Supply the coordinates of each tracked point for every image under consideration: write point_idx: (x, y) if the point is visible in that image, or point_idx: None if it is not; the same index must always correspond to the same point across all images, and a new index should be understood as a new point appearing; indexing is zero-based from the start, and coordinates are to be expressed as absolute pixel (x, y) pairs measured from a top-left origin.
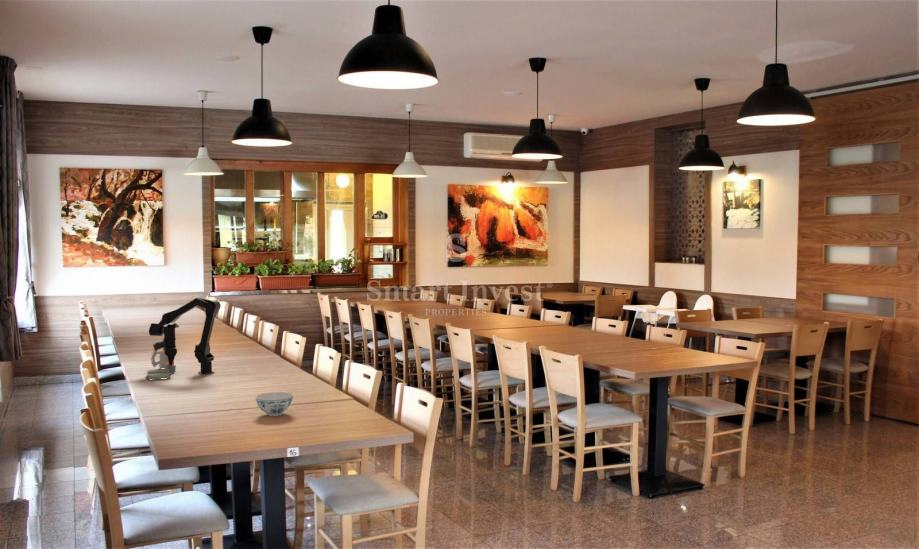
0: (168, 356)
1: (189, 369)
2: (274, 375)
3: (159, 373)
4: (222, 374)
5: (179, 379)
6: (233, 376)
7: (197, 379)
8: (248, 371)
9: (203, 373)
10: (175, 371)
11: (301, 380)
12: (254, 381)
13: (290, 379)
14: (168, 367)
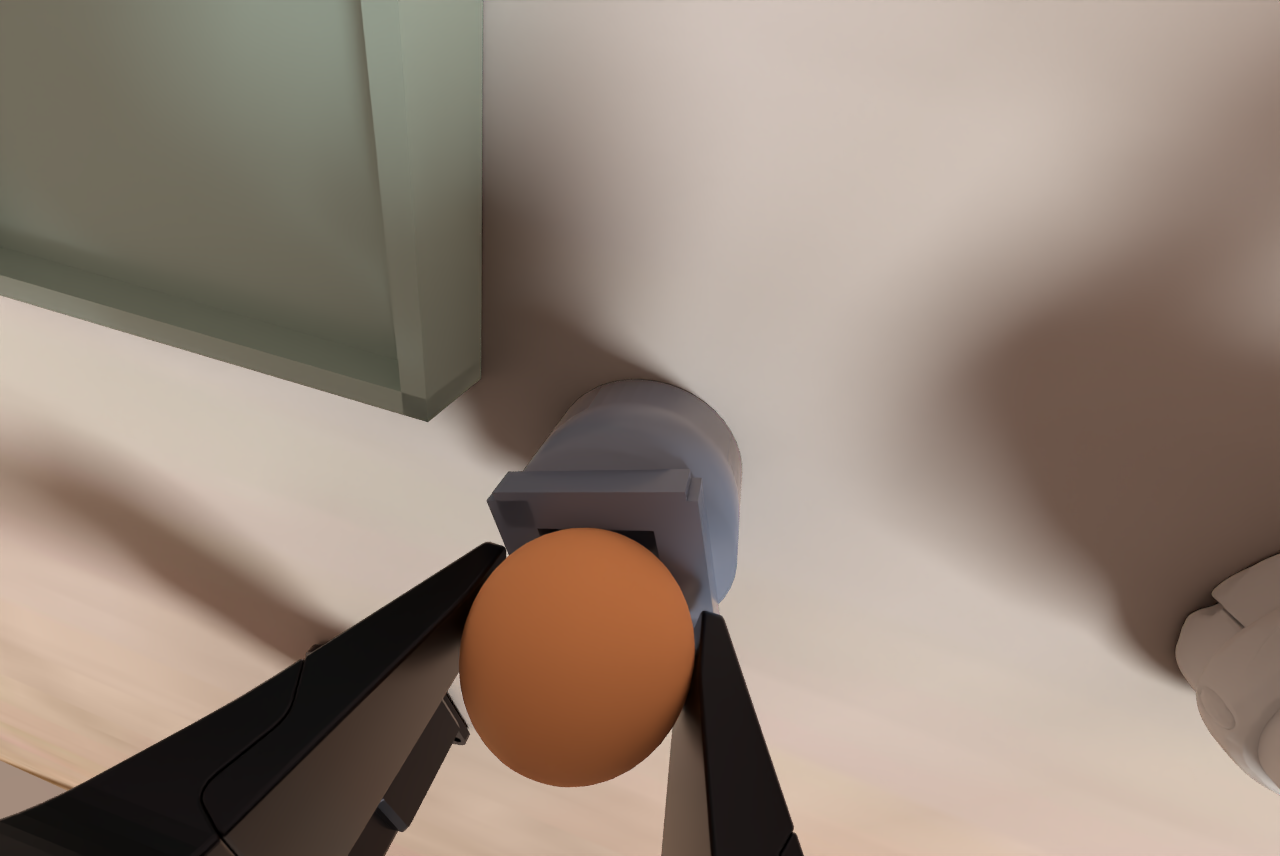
0: (92, 816)
1: (781, 728)
2: None
3: (357, 176)
4: None
5: (10, 353)
6: (189, 703)
7: (37, 498)
8: None
9: (307, 654)
10: None
11: (63, 763)
12: (8, 673)
13: (86, 761)
14: (507, 484)
